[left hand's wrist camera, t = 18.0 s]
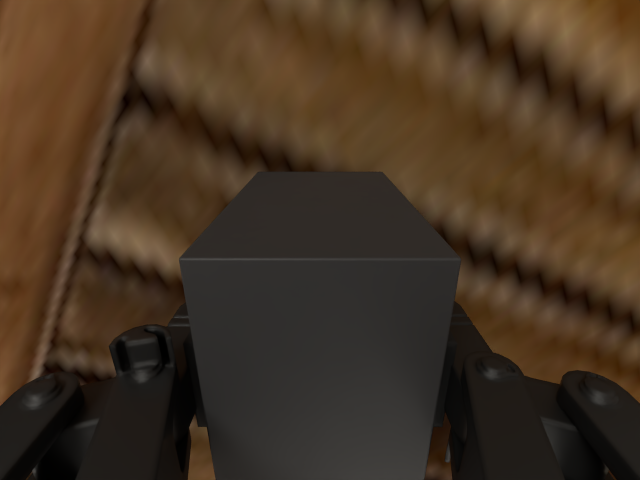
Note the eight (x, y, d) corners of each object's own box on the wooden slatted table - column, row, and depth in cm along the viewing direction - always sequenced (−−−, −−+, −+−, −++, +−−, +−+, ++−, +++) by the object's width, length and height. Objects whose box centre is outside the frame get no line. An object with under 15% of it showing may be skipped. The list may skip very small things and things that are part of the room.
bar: (257, 171, 14) (177, 258, 6) (382, 171, 14) (462, 258, 6) (280, 518, 22) (259, 744, 14) (359, 519, 22) (380, 745, 14)
